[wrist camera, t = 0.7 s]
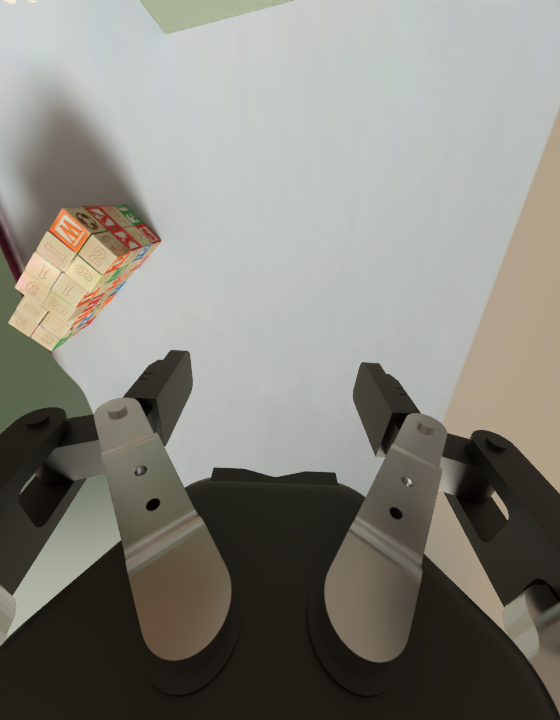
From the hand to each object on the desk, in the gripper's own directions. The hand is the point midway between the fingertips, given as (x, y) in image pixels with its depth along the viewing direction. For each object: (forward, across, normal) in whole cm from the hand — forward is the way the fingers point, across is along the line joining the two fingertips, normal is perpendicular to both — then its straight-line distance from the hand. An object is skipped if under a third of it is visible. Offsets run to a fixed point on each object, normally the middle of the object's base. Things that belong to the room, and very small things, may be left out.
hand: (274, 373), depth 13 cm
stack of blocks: (+33, +27, +4) cm, 42 cm away
